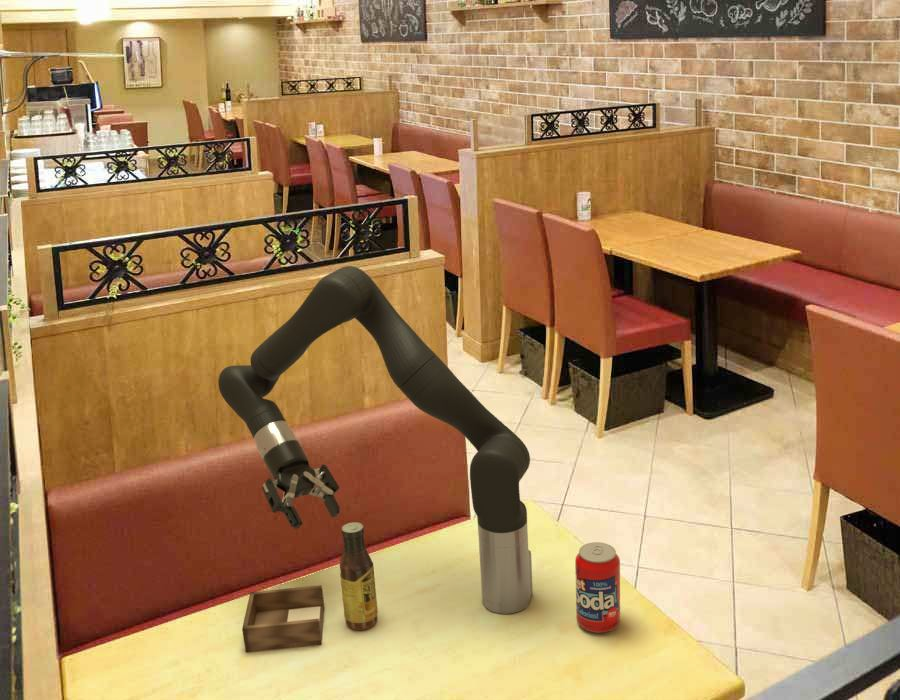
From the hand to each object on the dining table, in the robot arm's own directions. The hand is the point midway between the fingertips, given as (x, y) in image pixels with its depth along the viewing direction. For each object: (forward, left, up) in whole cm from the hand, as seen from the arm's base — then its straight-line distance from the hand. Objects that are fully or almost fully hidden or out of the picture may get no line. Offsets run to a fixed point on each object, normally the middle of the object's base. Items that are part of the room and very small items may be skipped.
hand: (318, 520), depth 172 cm
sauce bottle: (-1, +9, -19) cm, 21 cm away
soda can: (-26, +45, -19) cm, 55 cm away
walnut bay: (+9, -1, -19) cm, 21 cm away
